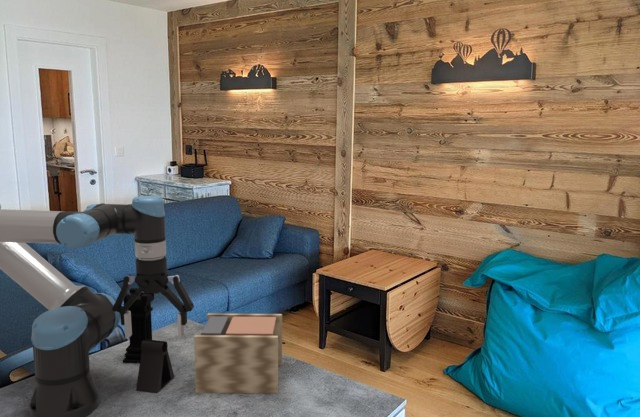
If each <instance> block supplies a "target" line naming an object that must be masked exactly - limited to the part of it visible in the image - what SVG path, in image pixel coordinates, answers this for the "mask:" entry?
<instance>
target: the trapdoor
mask: <svg viewBox="0 0 640 417" xmlns="http://www.w3.org/2000/svg"><path fill="white" fill-rule="evenodd" d="M275 324H276V317H233V318H232V320H231V322H230V325H229V319H228V317H226V316H210V318H209V320H208V322H207V321H206V324H205V325H204V327H203V328H202V330H201V332H200V335H253V336H273V333H274V328H275Z"/></svg>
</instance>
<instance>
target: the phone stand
mask: <svg viewBox="0 0 640 417" xmlns="http://www.w3.org/2000/svg"><path fill="white" fill-rule="evenodd" d="M168 350H169V349H168V341H166V340H165V341H164V340H154V339H152V340H148V339H145V341H142V343H141V359H140V363H139V366H138V373H137V379H136V388H135V391H137V392H144V393H153V394H159V392H161V391H162V390H163V389H164V388H165V387H166V386H167V385H169V383H171V382H172V381H173V379H175V373H174V369H173V367H172V366H173V365H172V362H171V358H170V356H169V351H168Z"/></svg>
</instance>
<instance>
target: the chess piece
mask: <svg viewBox="0 0 640 417" xmlns="http://www.w3.org/2000/svg"><path fill="white" fill-rule="evenodd" d="M137 289H138V287H130V288H129V290H128V291H129V293H127V294H126V296H125V298H124V300H123V306H124V305H125V304H126V302H127V301H128V300H129V299H130V298H131V296H132V295H133V294H134V293H135V291H136V290H137ZM154 300H155V294H154V293H149V294H145V292H142V293H141V294H140V295H139V296H138V298H137V299H136V300H135V301H134V302H133V304H132V305H131V306H130V307H129V308H128V310H127V311H131V325H132V335H131V336H130V337H129V339H128V340H129V345H128V346H127V347H126V348H125V351H126V352H125V354H123V355H124V358H123V360H122V364H140V359H141V343H142V341H145V339H148V340H153V328H152V327H153V326H152V325H153V324H152V312H153V311H154V307H153V306H152V302H153V301H154Z"/></svg>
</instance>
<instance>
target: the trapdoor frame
mask: <svg viewBox="0 0 640 417" xmlns="http://www.w3.org/2000/svg"><path fill="white" fill-rule="evenodd" d="M210 316H226V317H228V319H229V325H230V322H231V320H232V318H233V317H276V324H275V328H274V333H273V336H253V335H201V334H195V335H194V336H193V340H194V341H193V342H194V343H193V344H194V346H193V350H194V379H195V380H194V384H195V387H194V388H195V393H196V394H199V393H200V394H201V393H202V394H279V366H283V314H282V313H225V312H223V313H222V312H220V313H219V312H215V313H213V312H212V313H211V312H210V313H209V312H208V313H207V314H206V320H207V321H206V323H207V322H208V320H209V318H210Z"/></svg>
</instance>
